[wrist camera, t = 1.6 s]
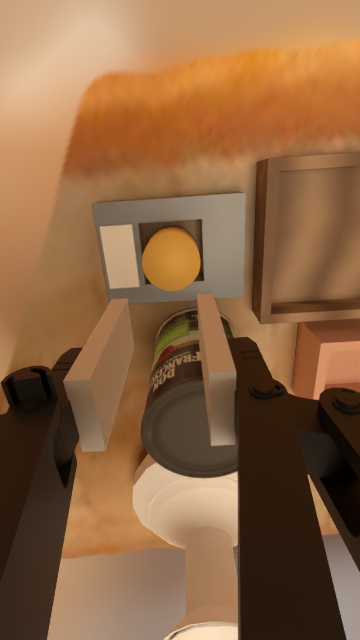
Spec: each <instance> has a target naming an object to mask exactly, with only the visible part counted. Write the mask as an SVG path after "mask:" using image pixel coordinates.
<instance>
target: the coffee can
mask: <svg viewBox="0 0 360 640" xmlns="http://www.w3.org/2000/svg"><path fill="white" fill-rule="evenodd" d="M219 315H220V319H221V322H222V325H223V329H224V332H225V335H226V338H239V337H238V334H237V331H236V329H235V327H234V326H233V324H232V323H231V322H230V321H229V319H227V318H226V317H225V316H223V315H222V314H220V313H219ZM141 438H142V442H143V445H144V447H145V449H146V451H147V453H148V454H149V455H150V457H151V458H152V459H153V460H154V461H155V462H157V463H158V464H159V465H160V466H162V467H163V468H165V469H167V470H169V471H171V472H173V473H176V474H178V475H182V476H186V477H191V478H204V479H206V478H216V477H222V476H226V475H230V474H233V473H235V472H237V460H238V443H237V439H236V437H235V445H219V446H211V440H210V431H209V423H208V414H207V406H206V397H205V389H204V380H203V372H202V363H201V355H200V347H199V328H198V308H191V309H186V310H183V311H180V312H178V313H176V314H174V315H172V316H171V317H169V318H168V319H167V320H166V321H165V322H164V323H163V324H162V326H161V327H160V329H159V331H158V333H157V336H156V340H155V351H154V357H153V363H152V370H151V377H150V383H149V389H148V395H147V402H146V407H145V412H144V414H143V418H142V423H141Z"/></svg>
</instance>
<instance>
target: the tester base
mask: <svg viewBox="0 0 360 640" xmlns="http://www.w3.org/2000/svg"><path fill="white" fill-rule="evenodd" d="M245 198H246V193H244V192H233V193H219V194H205V195H192V196H178V197H164V198H150V199H136V200H122V201H108V202H97V203H93V204H92V208H93V214H94V219H95V225H96V231H97V237H98V242H99V248H100V254H101V259H102V265H103V271H104V277H105V282H106V288H107V294H108V299H109V303H110V301H111V300H112V299H126V298H127V299H128V304H140V303H156V302H173V301H189V300H197V294H206V293H213V295H214V298H215V299H221V298H237V297H243V291H244V245H245ZM195 219H200V220H201V247H202V274H199V275H197V277H196V279H195V280H194V281H193V282H192V283H191V284H190V285H189V286H187V287H185V288H183V289H181V290H177V291H166V290H162V289H160V288H158V287H156V286H154V285H153V284H152V283H151V282H150V281H149V280H148V279H147V277H146V276H145V273H144V271H143V267H142V256H143V253H144V241H143V232H142V224H141V223H152V222H166V221H181V220H195Z"/></svg>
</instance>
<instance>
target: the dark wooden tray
mask: <svg viewBox="0 0 360 640" xmlns="http://www.w3.org/2000/svg"><path fill="white" fill-rule="evenodd" d="M252 310H253V312H254V314H255V316H256V317H257V319H258V321H259V323H260V324H272V323H289V322H306V321H322V320H339V319H356V318H360V152H353V153H339V154H326V155H313V156H299V157H286V158H272V159H266V160H262V161H259V162H257V176H256V205H255V234H254V264H253V293H252Z"/></svg>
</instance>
